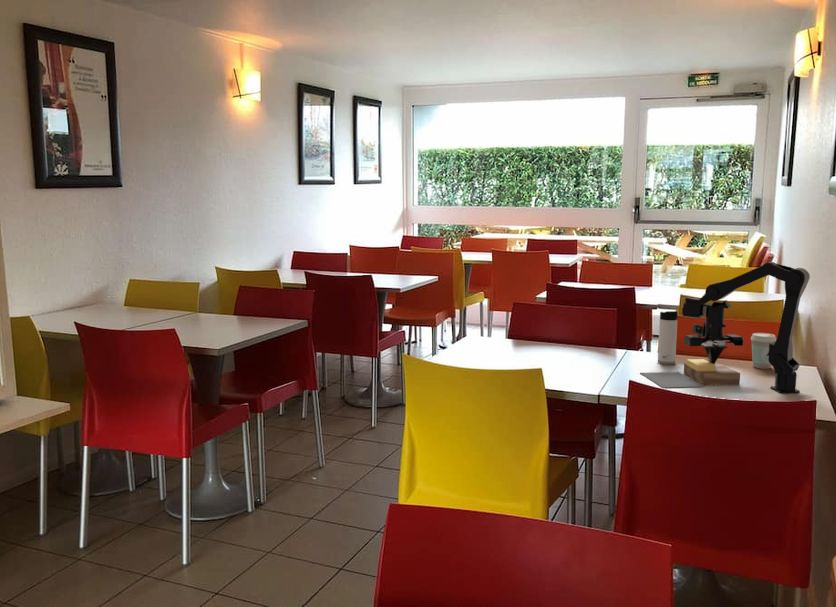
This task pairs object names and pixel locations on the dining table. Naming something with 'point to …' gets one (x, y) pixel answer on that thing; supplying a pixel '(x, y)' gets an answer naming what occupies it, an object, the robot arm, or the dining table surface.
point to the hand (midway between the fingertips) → (711, 365)
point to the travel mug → (667, 337)
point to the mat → (671, 380)
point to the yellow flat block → (700, 365)
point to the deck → (714, 375)
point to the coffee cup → (761, 349)
